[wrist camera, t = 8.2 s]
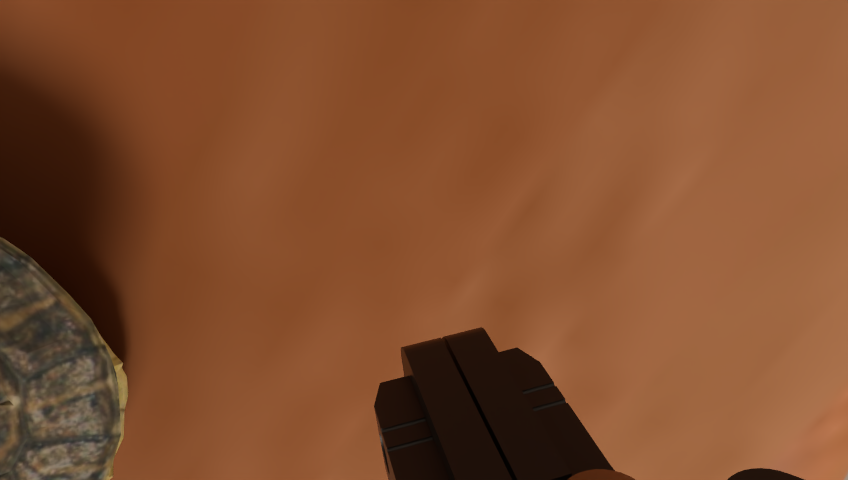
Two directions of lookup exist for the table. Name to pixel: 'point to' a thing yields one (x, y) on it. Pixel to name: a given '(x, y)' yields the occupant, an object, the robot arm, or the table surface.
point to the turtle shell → (54, 380)
